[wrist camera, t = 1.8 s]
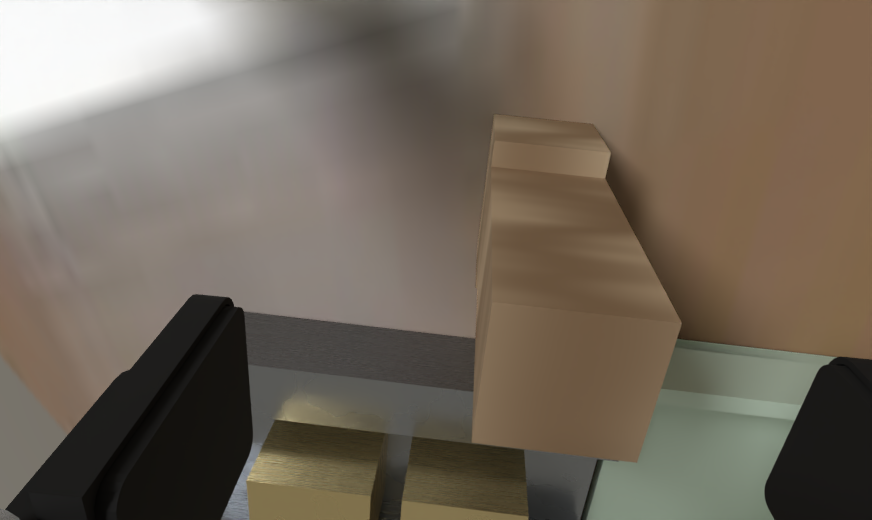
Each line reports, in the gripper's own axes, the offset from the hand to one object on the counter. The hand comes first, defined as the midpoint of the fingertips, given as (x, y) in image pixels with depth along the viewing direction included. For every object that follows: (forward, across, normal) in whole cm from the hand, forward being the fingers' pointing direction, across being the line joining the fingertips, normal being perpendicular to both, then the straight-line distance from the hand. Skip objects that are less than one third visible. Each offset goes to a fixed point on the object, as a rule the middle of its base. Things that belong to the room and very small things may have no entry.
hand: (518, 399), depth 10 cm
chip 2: (+9, 0, +11) cm, 14 cm away
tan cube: (+10, +5, +11) cm, 15 cm away
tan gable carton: (+10, -1, 0) cm, 10 cm away
